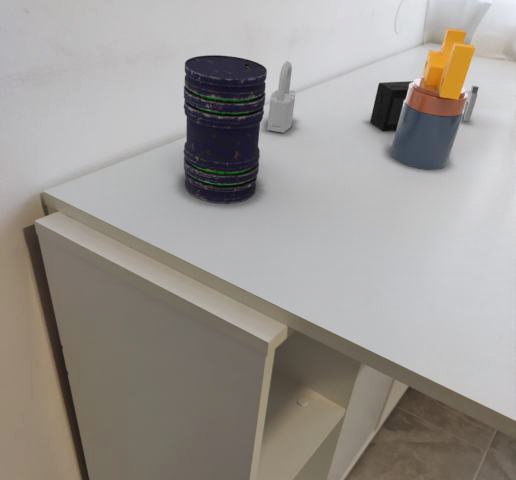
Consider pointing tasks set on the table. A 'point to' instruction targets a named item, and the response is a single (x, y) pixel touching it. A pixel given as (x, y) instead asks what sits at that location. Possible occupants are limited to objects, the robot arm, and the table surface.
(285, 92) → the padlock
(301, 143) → the table surface
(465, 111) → the caliper
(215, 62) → the storage jar
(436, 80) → the orange stepped block
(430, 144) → the lidded canister
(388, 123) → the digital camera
